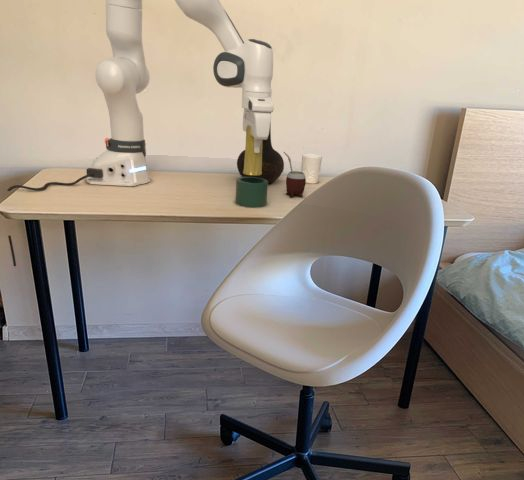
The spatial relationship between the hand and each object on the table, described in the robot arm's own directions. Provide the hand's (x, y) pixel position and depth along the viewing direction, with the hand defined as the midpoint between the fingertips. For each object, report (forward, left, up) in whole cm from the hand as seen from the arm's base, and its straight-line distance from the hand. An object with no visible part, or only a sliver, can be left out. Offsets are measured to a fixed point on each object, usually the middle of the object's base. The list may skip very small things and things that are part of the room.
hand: (253, 150), depth 161 cm
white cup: (+32, +33, -17) cm, 49 cm away
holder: (0, 0, -17) cm, 17 cm away
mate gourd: (+18, +10, -17) cm, 27 cm away
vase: (0, 0, -7) cm, 7 cm away
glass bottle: (+11, +32, -17) cm, 38 cm away
